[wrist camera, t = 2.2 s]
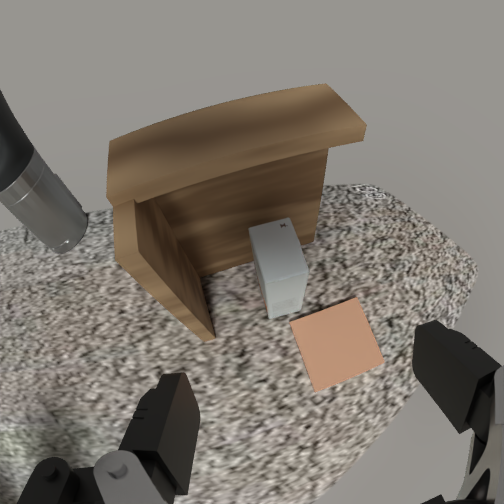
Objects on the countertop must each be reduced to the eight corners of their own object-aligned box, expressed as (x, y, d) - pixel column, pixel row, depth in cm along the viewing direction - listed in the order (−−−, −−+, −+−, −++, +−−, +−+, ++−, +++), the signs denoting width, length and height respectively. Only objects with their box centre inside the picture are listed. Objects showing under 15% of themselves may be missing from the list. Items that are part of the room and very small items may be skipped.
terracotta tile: (289, 323, 35) (289, 322, 34) (355, 298, 36) (356, 296, 35) (314, 392, 31) (315, 392, 30) (383, 363, 31) (384, 362, 31)
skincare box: (255, 277, 38) (246, 225, 28) (287, 268, 38) (290, 214, 28) (268, 321, 35) (263, 284, 25) (302, 311, 35) (312, 270, 25)
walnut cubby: (186, 271, 39) (109, 141, 19) (309, 232, 41) (326, 83, 20) (204, 341, 35) (106, 251, 14) (338, 297, 36) (400, 164, 16)
